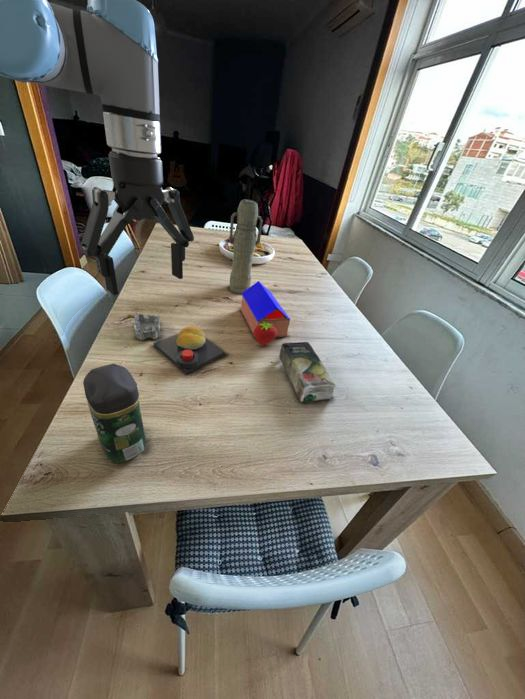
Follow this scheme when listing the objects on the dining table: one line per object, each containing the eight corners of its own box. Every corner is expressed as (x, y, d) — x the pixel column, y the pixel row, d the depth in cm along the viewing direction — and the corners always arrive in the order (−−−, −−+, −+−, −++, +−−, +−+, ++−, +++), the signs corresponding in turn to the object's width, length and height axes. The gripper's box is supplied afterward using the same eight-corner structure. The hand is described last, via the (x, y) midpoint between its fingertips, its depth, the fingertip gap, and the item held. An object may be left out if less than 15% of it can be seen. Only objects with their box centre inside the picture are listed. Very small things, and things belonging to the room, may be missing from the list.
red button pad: (152, 346, 87) (151, 338, 85) (192, 331, 96) (192, 323, 94) (185, 375, 79) (185, 366, 77) (225, 355, 89) (225, 347, 87)
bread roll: (174, 350, 85) (174, 339, 83) (180, 333, 92) (179, 322, 90) (203, 352, 86) (204, 341, 84) (206, 335, 93) (206, 324, 91)
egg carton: (136, 322, 95) (134, 311, 93) (160, 321, 98) (159, 311, 95) (134, 341, 87) (133, 329, 85) (161, 340, 90) (160, 328, 87)
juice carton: (334, 401, 79) (340, 385, 76) (301, 405, 76) (306, 388, 73) (305, 356, 94) (310, 340, 91) (277, 358, 91) (280, 342, 88)
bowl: (284, 261, 164) (286, 247, 159) (245, 270, 144) (247, 254, 140) (247, 244, 178) (248, 230, 174) (207, 250, 159) (208, 235, 154)
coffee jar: (95, 435, 61) (75, 368, 50) (134, 419, 65) (123, 354, 54) (110, 471, 55) (90, 404, 44) (151, 452, 60) (143, 386, 49)
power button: (179, 357, 81) (179, 352, 80) (188, 353, 83) (188, 348, 82) (186, 362, 79) (186, 357, 78) (195, 358, 81) (195, 353, 80)
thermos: (255, 294, 125) (268, 205, 104) (227, 293, 121) (235, 201, 101) (250, 285, 131) (261, 200, 111) (224, 284, 128) (231, 196, 107)
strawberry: (276, 351, 94) (282, 325, 88) (253, 351, 92) (257, 325, 86) (271, 340, 99) (276, 314, 93) (249, 340, 96) (253, 314, 91)
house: (254, 338, 98) (259, 308, 91) (239, 309, 113) (243, 280, 106) (287, 336, 102) (294, 307, 95) (268, 308, 117) (273, 280, 110)
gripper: (52, 150, 34) (88, 309, 47) (215, 162, 51) (210, 277, 63) (28, 140, 38) (68, 291, 50) (188, 154, 54) (188, 265, 67)
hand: (147, 283), depth 57 cm, fingers open, 13 cm apart
